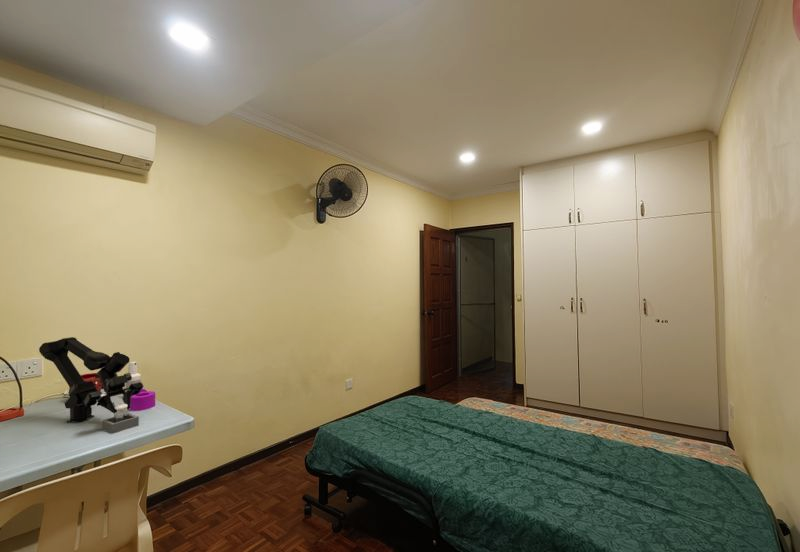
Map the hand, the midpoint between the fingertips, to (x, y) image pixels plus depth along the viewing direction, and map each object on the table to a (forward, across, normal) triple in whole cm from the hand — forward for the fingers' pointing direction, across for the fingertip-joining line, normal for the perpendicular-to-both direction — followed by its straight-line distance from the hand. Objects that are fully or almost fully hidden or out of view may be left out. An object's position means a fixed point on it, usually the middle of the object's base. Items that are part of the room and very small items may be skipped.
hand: (121, 410), depth 142 cm
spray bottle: (-24, +22, +34) cm, 47 cm away
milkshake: (+4, 0, +6) cm, 7 cm away
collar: (+4, 0, +6) cm, 7 cm away
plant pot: (-35, +9, +46) cm, 59 cm away
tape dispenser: (-10, +17, +21) cm, 29 cm away
